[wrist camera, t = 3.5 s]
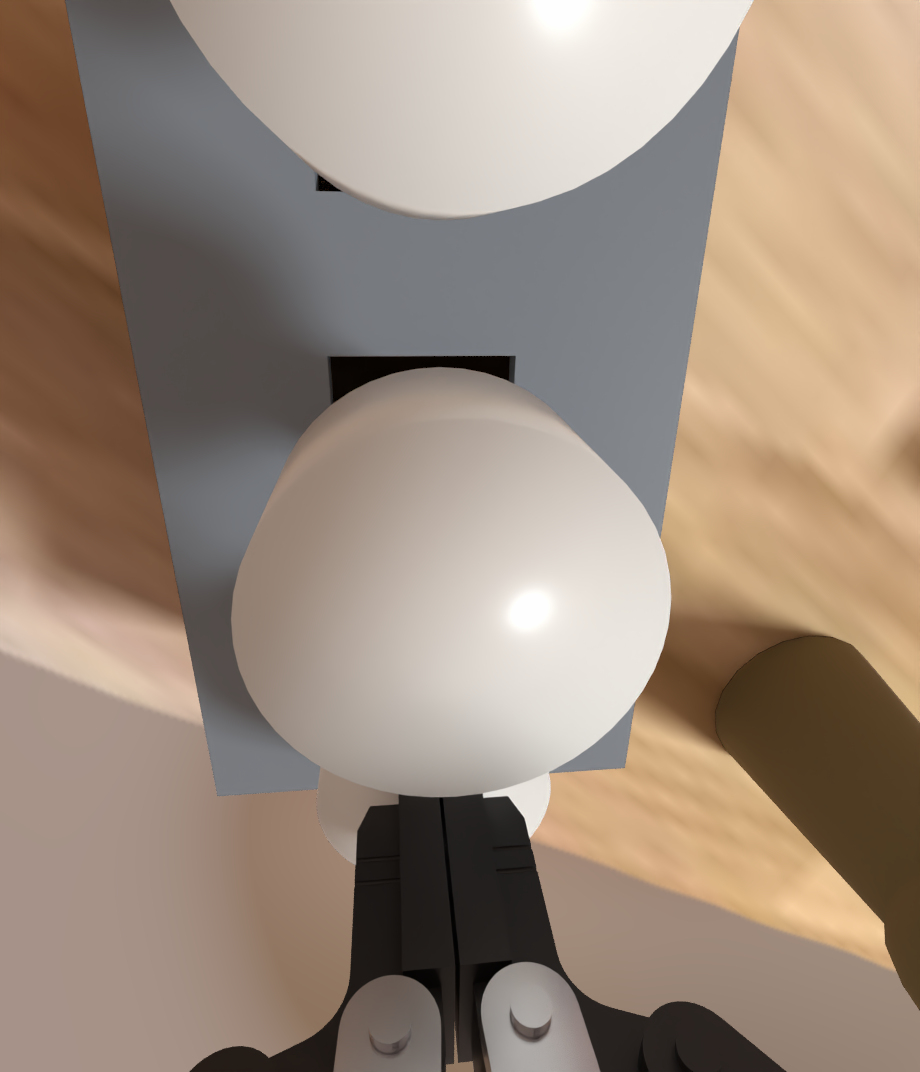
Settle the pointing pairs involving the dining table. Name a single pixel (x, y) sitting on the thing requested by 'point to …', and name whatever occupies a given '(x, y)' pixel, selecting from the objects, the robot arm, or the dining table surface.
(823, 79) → the dining table surface
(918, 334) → the dining table surface
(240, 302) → the mount block
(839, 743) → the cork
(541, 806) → the knob far
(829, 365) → the dining table surface
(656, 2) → the knob near
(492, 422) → the knob middle
